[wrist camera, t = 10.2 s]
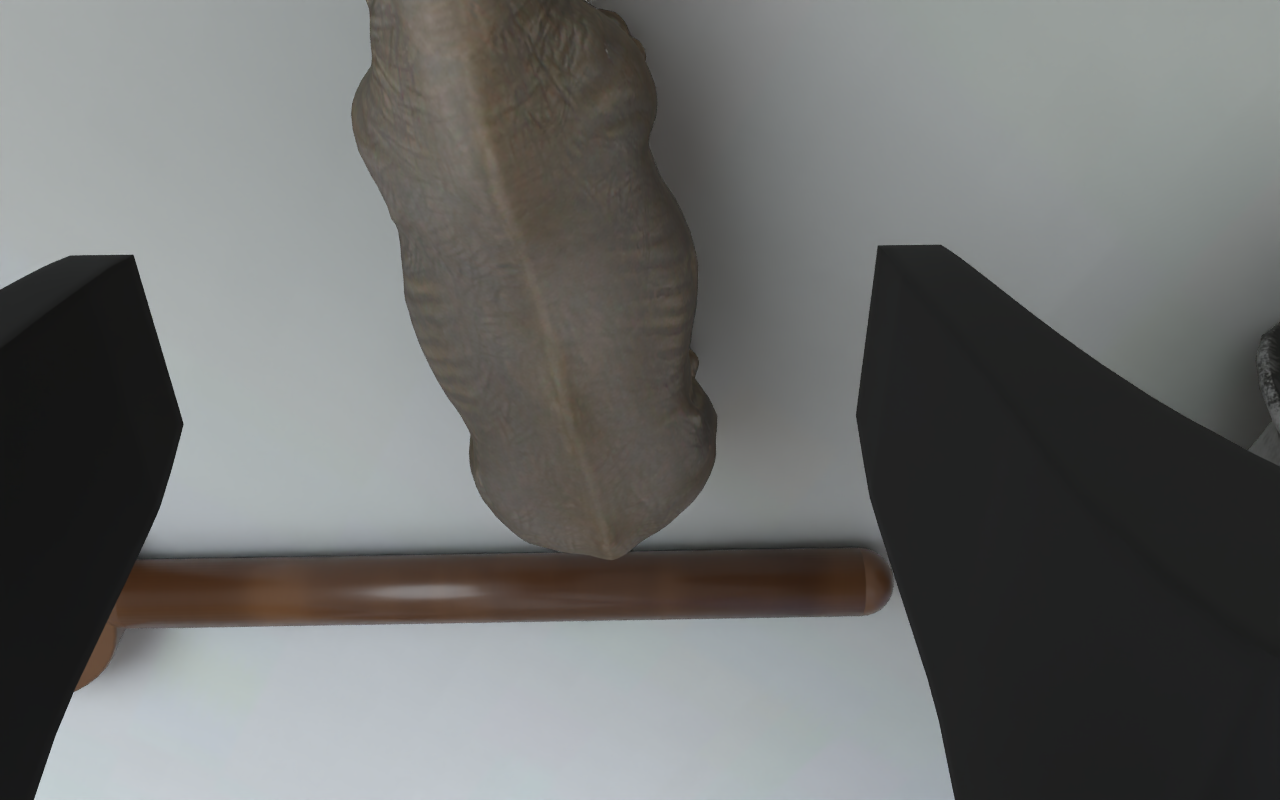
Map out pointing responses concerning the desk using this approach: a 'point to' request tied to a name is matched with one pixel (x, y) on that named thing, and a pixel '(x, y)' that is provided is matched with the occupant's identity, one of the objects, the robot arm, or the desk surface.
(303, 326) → the desk surface
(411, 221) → the rhino figurine
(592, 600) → the brown long-handled part
